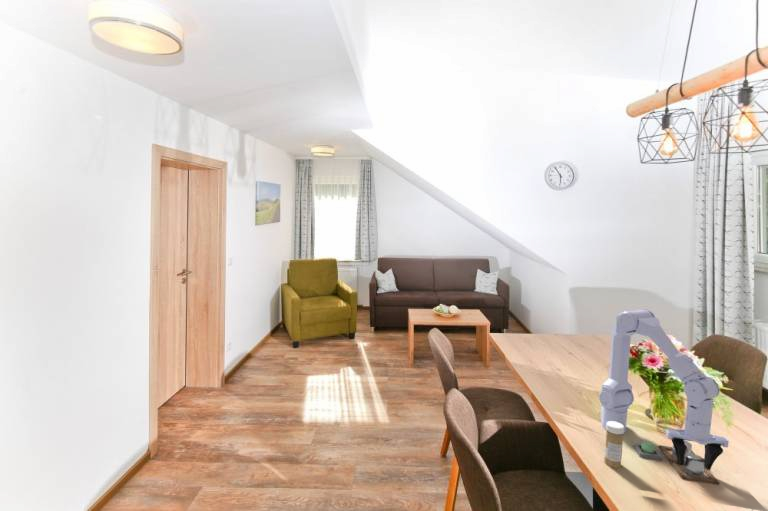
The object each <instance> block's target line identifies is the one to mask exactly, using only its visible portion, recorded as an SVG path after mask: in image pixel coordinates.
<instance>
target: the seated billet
mask: <svg viewBox="0 0 768 511" xmlns="http://www.w3.org/2000/svg"><path fill="white" fill-rule="evenodd" d="M684 442H685V443H684V444H685V445H686V446H687V448H686V451H685V454H684V461H685V455H686V454H691V450H692V447H693V445H692V444H691V442H690V441H687V440H684ZM672 447H673V450H672V452H671V457H672V458H674V459H675V460H677V456H676V451H675V448H674V445H673V444H672Z"/></svg>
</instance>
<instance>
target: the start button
mask: <svg viewBox="0 0 768 511" xmlns="http://www.w3.org/2000/svg"><path fill="white" fill-rule="evenodd" d="M640 444H641V451H642V452H644V453H651V454H654V449H655V447H656V446H655V443H653V442H651V441H650V440H641V443H640Z"/></svg>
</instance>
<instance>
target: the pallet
mask: <svg viewBox="0 0 768 511" xmlns="http://www.w3.org/2000/svg"><path fill="white" fill-rule="evenodd" d="M658 448H659V449H660V451H661V452H662V454H663V455H664V456H665V457H666V459H667V461H669V463H670V465H671V466H672V467H673V469H674V470H675V472H676V473H677V475H679V477H680V479H681V480H687V481H693V482H700V483H704V484H709V485H710V484H711V485H718V486H719V485H720V482H719V480H717V478H716V477H715V475H713V473H712V472H711V471H710V470H707V469H706V467H705V468H704V475H706V476H707V478H704V477H703V478H699V477H693V476H690V475H688V474H685V472H684V471H683V470H682V469H681V468H680V466H679V463H678V462H677V459H673V458H674V457H673V456H672V455H671V454H670V453H669V451H672V450H673V446H667V445H661V444H659V445H658ZM691 454H695V455H696V453H695V452H694V451H693V450H692V449H691ZM684 463H685V461H684ZM684 463H683V466H684Z"/></svg>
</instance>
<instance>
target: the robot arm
mask: <svg viewBox="0 0 768 511" xmlns="http://www.w3.org/2000/svg"><path fill="white" fill-rule="evenodd" d="M615 320H616V321H615V323H614V324H613V326H612V329H611V340H610V341H611V342H610V343H611V344H610V358H609V369H608V370H609V372H608V378H607V379H606V380H605V382H603V383H602V386H601V390H600V392H599V394H598V399H599V402H600V404H601V408H600V419H599V420H600V422H601V427H602V429H604V430H605V431H607V430H606V423H607V422H608V421H615V422H618V423H621V424H622V425H623V426H624V433H623V435H624V434H625V433H626V432H627V423H628V422H627V421H628V410H629V408H630V406H631V405H632V404H633V403H634V401H635V395H634V393H633V386H632V385H631V383H629V380H628V379H629V378H628V376H629V368H630V367H629V365H630V353H631V352H630V351H631V340H632V336H633V335H635V334H637V335H641V336H644V337H648V338H649V339H650V340H651V341H652V343H654V344H655V346H657V348H659V349H660V351H661V352H662V354H664V356H666V358H667V359H668V361H667V365H668V367H670V369H671V370H672V371H673V373H674V374H675V375H676V376H677V377H678V379H679V380H680V381H681V383H682V385H683V392H684V394H685V396H686V411H685V412H686V413H685V422H684V429H667V428H666V429H665V437H666V438H667V439H668V440H670V441H671V443H672V446H673V445H674V448H675V451H676V456H677V459H676V460H677V462H678V463H679V464H678V466H680V467H682V466H684V465H683V463H684V454H685V451H686V448H687V446H686V445H685V444H684V443H685V442H684V440H685V441H687V442H694V443H697V444H699V445H704V456H703V457H704V458H703V459H704V460H705V467H706V469H707V470H709V471H710V470H711V469H712V466H713V465H714V463H715V461H716V460H717V458H718V457H719V456H721V455H722V454H723V452H724V449H723V448H729V442H730V441H729V440H728V439H727V437H725V436H719V435H714V434H711V429H712V428H711V426H712V419H713V408H714V400H715V399H714V398H717V397H718V396H719V394H720V386H719V385H718V383H717V381H716V380H715V379H714V378H712V377H710V376H707V375H706V374H705V373H704V372H703V371H701V369H699V367H698V366H697V365H696V363H695V362H694V359H693V358H692V357H691V356H689V355H688V354H686V353H682V352H680V351H679V350H678V348H677V347H676V346H675V344H674V342H672V340H671V338H670V337H669V336H668V335H667V333H666V332H665V330H664V329H663V328H662V327H661V324H660V320H659V318H657V317H656V315H655V313H653V312H652V311H651V310H650V309H639V310H630V311H629V310H625V311H622V312H619V313H618V314H617V315H616V319H615ZM722 447H723V448H722Z"/></svg>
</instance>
